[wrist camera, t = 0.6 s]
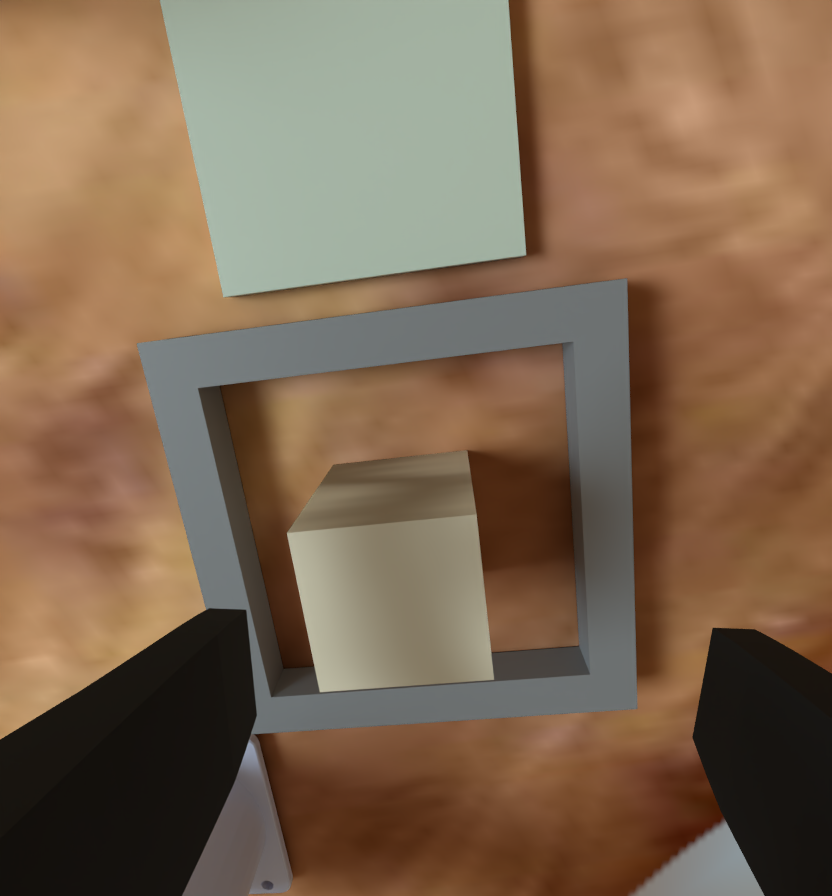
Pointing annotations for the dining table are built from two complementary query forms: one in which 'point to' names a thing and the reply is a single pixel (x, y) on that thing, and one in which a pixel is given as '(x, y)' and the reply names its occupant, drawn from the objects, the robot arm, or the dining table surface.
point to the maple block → (393, 574)
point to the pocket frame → (397, 341)
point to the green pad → (349, 136)
